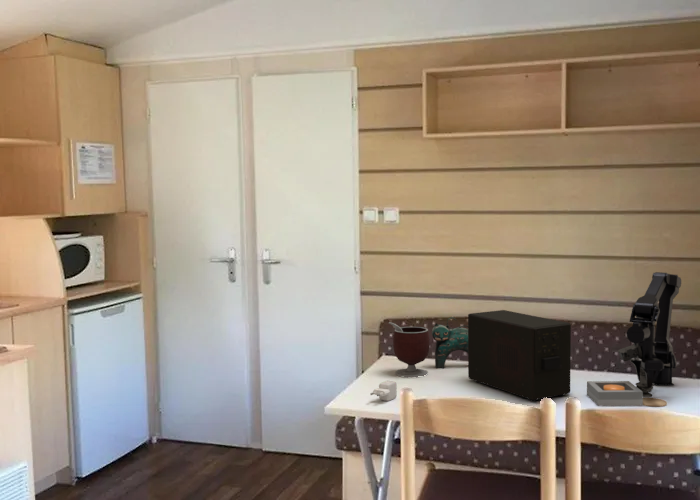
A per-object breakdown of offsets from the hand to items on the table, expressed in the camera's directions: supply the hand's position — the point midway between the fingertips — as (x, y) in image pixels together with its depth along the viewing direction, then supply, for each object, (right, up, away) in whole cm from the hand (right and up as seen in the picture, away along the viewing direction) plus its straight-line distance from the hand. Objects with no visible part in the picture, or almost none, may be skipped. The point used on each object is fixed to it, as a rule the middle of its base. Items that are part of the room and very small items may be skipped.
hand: (644, 384), depth 258 cm
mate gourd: (-77, -2, +35) cm, 84 cm away
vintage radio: (-39, -4, +12) cm, 41 cm away
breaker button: (-12, -2, -5) cm, 13 cm away
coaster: (-1, -4, -10) cm, 11 cm away
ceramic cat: (-57, -1, +46) cm, 73 cm away
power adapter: (-88, -5, -2) cm, 88 cm away
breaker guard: (-12, -4, -5) cm, 14 cm away
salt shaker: (0, -4, 0) cm, 4 cm away
